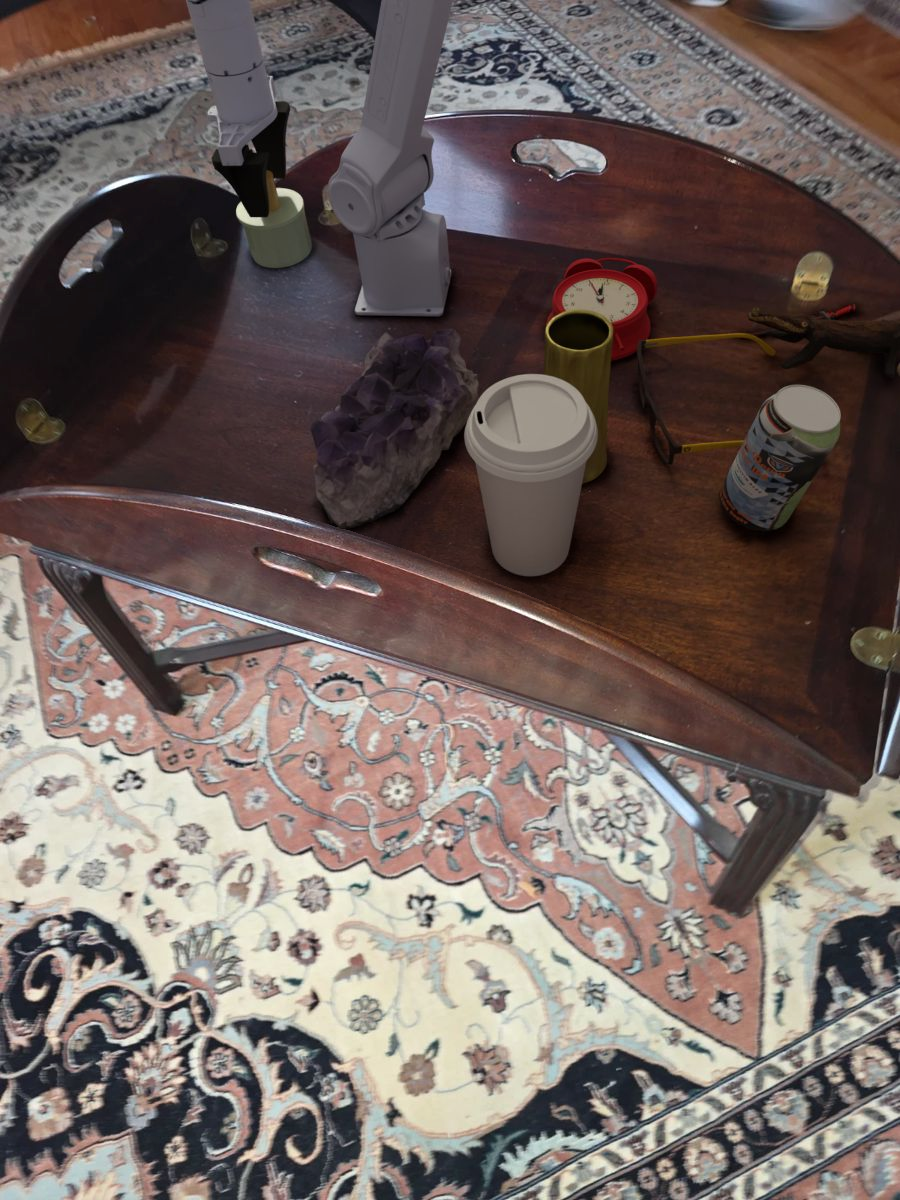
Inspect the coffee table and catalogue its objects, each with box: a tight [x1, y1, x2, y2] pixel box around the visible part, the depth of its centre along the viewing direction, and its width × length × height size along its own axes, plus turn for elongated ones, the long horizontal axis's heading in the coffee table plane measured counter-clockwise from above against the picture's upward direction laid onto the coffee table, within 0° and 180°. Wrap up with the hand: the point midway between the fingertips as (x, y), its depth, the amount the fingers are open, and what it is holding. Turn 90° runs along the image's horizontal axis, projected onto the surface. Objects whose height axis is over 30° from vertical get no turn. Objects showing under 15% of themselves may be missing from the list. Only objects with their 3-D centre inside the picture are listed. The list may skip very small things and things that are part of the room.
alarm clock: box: [545, 257, 659, 362], centre depth 88 cm, size 10×6×15 cm
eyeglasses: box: [636, 332, 777, 466], centre depth 79 cm, size 14×14×4 cm
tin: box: [242, 209, 313, 269], centre depth 100 cm, size 7×7×5 cm
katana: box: [746, 303, 857, 337], centre depth 87 cm, size 13×2×1 cm, turn 103°
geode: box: [309, 328, 480, 530], centre depth 77 cm, size 20×12×10 cm, turn 155°
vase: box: [543, 309, 613, 485], centre depth 73 cm, size 6×6×14 cm
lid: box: [235, 170, 305, 230], centre depth 96 cm, size 8×8×5 cm
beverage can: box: [718, 384, 842, 532], centre depth 69 cm, size 6×7×12 cm
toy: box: [747, 307, 900, 379], centre depth 82 cm, size 23×7×5 cm, turn 87°
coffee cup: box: [463, 373, 598, 577], centre depth 67 cm, size 10×10×15 cm
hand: (268, 196), depth 96 cm, fingers open, 7 cm apart
